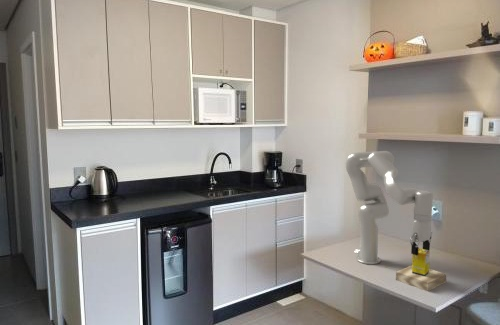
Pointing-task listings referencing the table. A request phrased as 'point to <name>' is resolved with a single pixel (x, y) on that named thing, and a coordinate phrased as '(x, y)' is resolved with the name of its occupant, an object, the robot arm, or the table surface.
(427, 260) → the supplement box
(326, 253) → the table surface
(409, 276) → the birch riser
